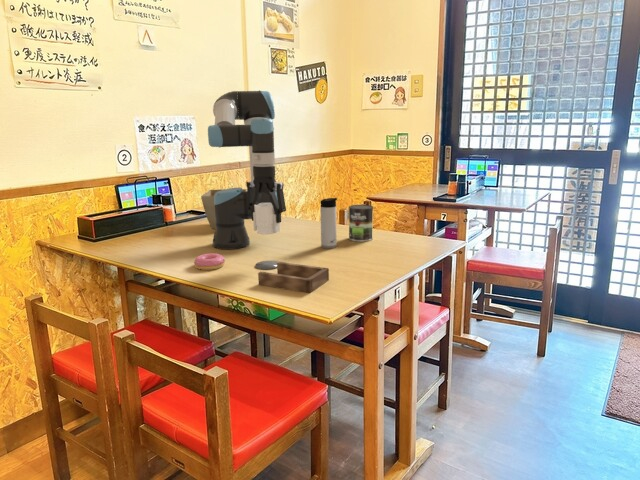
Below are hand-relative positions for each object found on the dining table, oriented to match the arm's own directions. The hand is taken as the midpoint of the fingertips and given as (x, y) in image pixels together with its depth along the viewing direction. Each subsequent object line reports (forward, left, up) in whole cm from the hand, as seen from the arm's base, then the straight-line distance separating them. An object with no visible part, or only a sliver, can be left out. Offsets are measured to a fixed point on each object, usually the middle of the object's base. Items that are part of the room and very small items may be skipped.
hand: (266, 230), depth 172 cm
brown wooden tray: (+17, -12, -13) cm, 24 cm away
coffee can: (+16, +49, -13) cm, 53 cm away
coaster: (0, 0, -13) cm, 13 cm away
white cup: (0, 0, -1) cm, 1 cm away
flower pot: (-53, +47, -13) cm, 72 cm away
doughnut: (-19, -9, -13) cm, 25 cm away
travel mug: (+9, +32, -13) cm, 36 cm away
